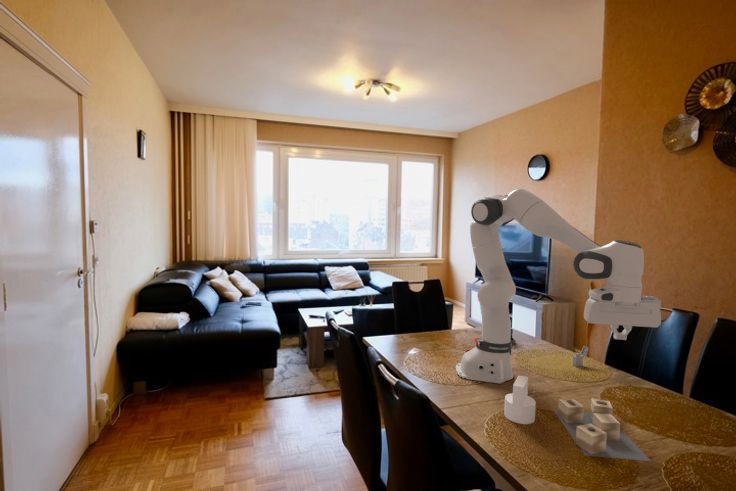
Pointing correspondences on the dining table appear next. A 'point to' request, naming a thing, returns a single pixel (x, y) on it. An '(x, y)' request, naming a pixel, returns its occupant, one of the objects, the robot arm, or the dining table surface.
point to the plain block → (607, 425)
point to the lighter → (580, 357)
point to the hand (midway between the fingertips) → (619, 339)
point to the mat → (608, 442)
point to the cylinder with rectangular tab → (520, 403)
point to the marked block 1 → (571, 411)
